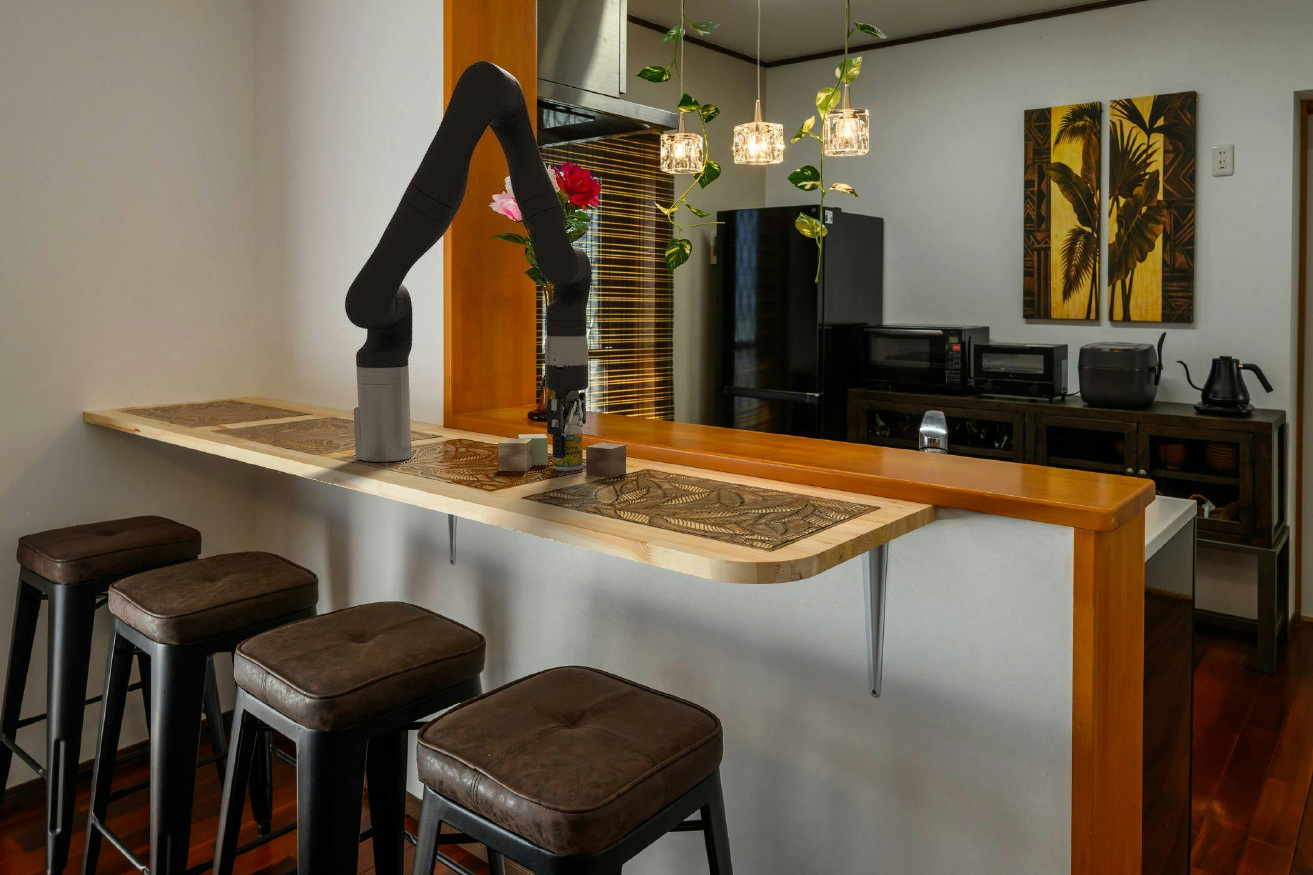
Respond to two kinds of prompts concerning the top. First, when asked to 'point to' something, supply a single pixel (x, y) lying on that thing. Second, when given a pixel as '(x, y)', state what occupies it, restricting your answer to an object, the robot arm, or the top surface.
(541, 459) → the sage block
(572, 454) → the supplement bottle
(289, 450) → the top surface
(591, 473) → the walnut block
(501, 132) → the robot arm
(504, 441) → the oak block
